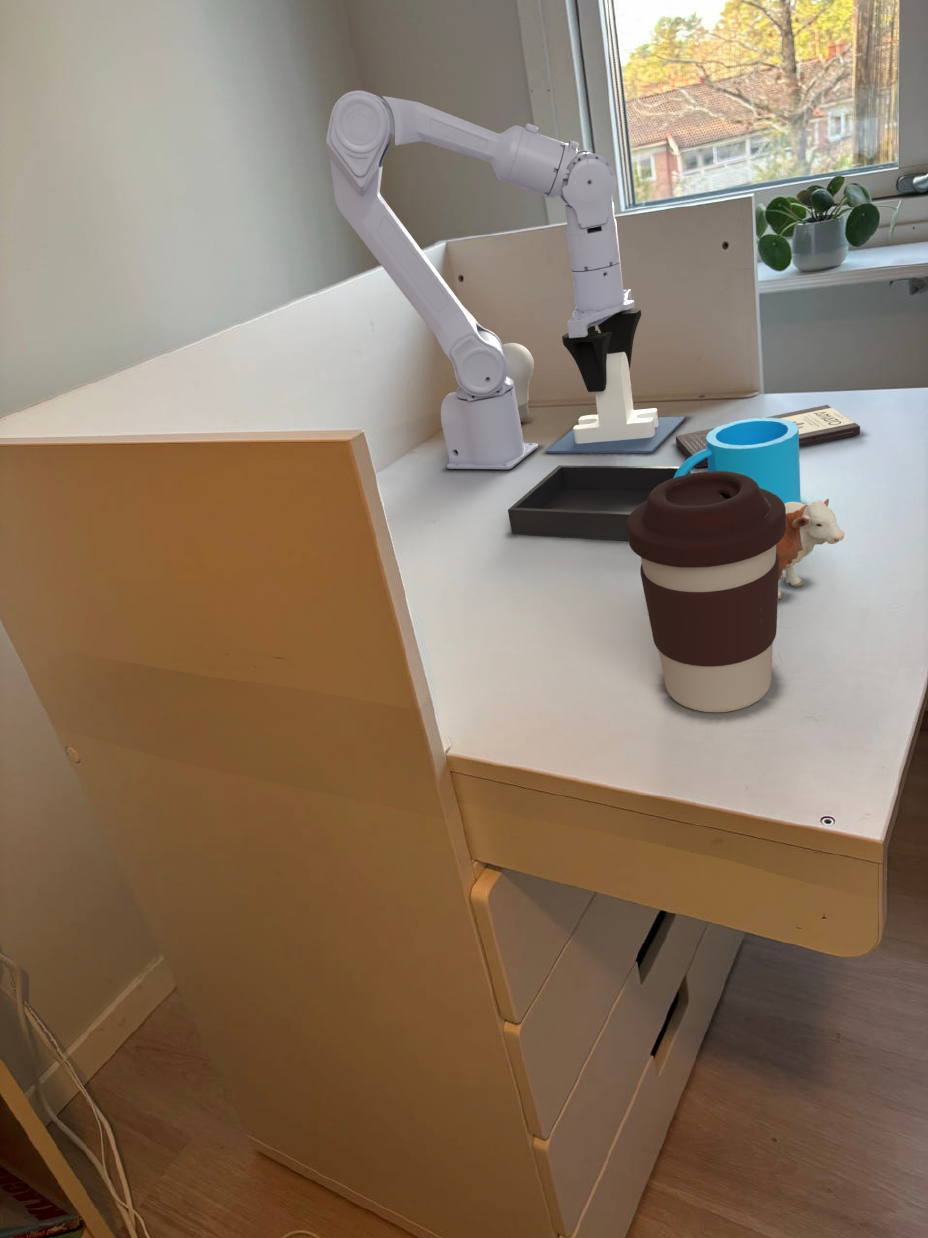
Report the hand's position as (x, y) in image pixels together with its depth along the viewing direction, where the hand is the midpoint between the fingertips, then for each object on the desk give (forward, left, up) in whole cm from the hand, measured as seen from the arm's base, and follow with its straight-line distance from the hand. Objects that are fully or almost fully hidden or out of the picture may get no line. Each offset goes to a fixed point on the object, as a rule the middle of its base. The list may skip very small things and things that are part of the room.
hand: (609, 381), depth 114 cm
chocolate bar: (+19, -2, -7) cm, 20 cm away
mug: (+22, -23, -7) cm, 33 cm away
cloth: (0, 0, -7) cm, 7 cm away
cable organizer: (0, 0, -7) cm, 7 cm away
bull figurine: (+28, -37, -7) cm, 47 cm away
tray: (+8, -23, -7) cm, 25 cm away
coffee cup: (+29, -51, -7) cm, 59 cm away
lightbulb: (-17, +6, -7) cm, 19 cm away
